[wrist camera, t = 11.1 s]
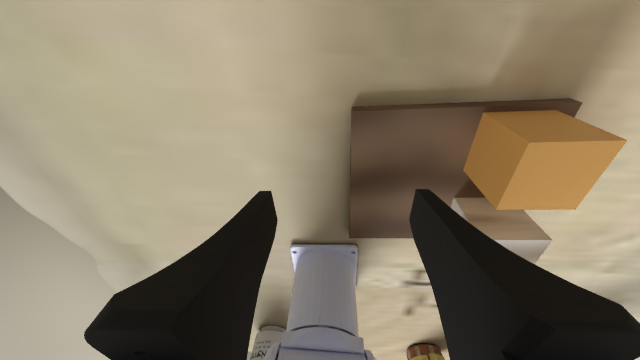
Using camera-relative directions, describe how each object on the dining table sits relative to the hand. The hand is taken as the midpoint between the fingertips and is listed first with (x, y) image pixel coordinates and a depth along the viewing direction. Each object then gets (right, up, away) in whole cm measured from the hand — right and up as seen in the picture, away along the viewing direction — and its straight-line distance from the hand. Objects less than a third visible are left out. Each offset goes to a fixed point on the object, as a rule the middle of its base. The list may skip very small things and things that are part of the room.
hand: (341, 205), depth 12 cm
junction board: (+10, +1, +10) cm, 14 cm away
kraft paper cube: (+13, +4, +6) cm, 16 cm away
